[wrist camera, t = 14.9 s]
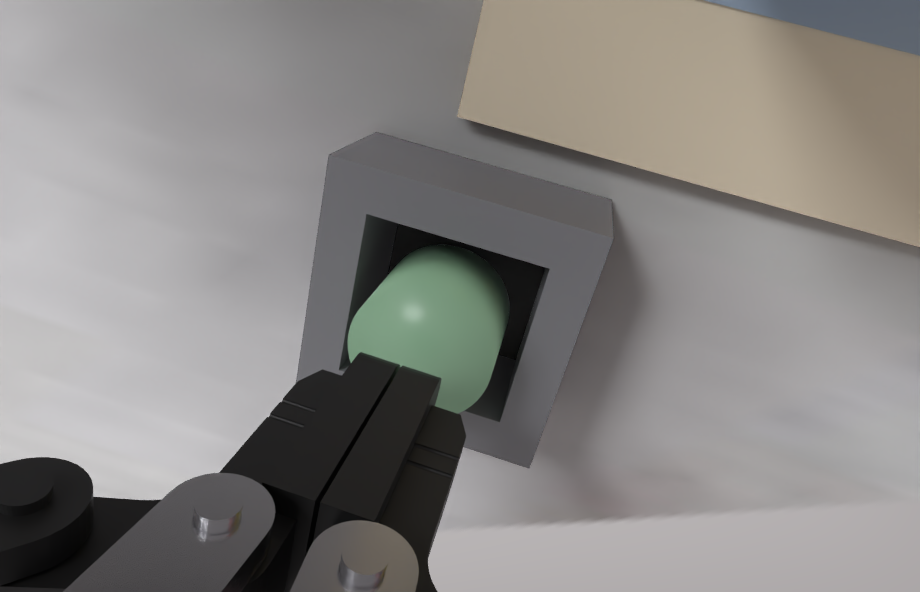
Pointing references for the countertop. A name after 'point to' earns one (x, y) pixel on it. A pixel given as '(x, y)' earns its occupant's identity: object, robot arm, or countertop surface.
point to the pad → (720, 96)
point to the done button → (437, 321)
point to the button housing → (471, 222)
